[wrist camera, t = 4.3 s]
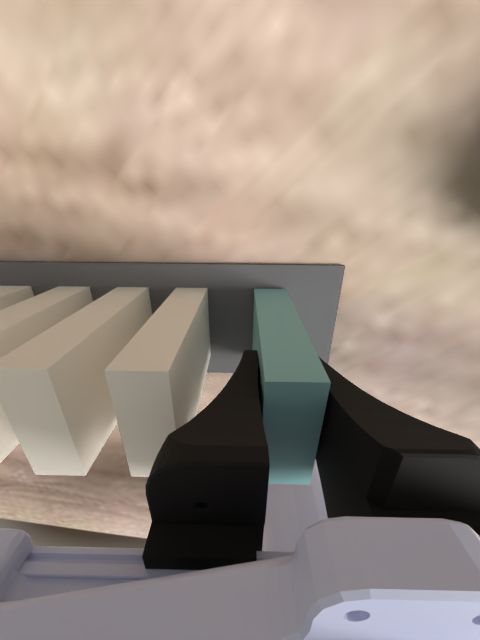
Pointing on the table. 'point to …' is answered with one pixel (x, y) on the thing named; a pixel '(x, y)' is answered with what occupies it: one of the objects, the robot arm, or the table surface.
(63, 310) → the tile
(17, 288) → the tile
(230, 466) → the robot arm
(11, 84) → the table surface
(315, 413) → the tile
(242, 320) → the mat
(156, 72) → the table surface
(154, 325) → the tile
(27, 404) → the tile
